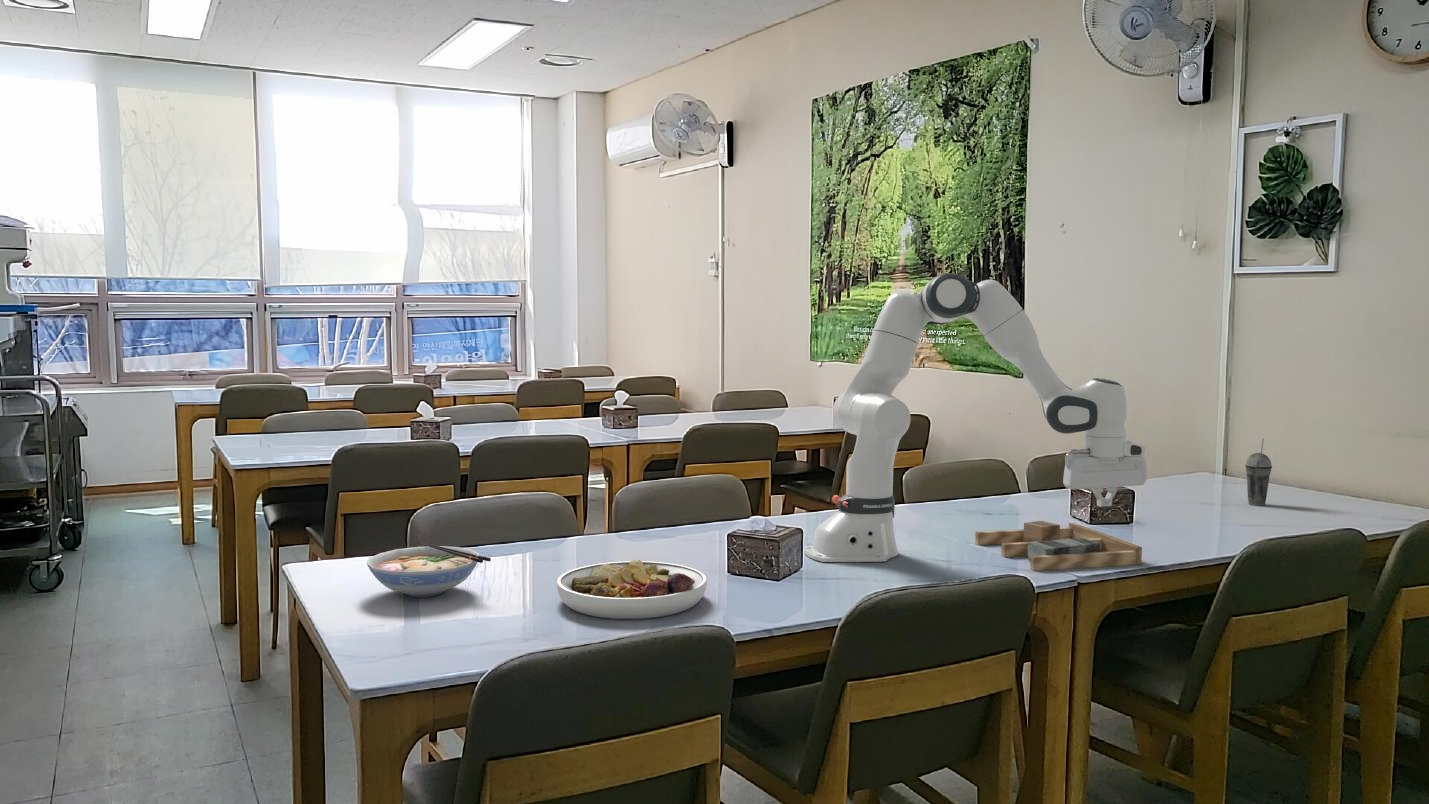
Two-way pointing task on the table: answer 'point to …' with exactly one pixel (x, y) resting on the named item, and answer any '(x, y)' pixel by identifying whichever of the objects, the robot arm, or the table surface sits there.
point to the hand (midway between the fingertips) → (1104, 505)
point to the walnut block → (1041, 531)
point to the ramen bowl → (424, 568)
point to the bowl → (631, 589)
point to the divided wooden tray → (1109, 555)
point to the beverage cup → (1258, 477)
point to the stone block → (1062, 547)
